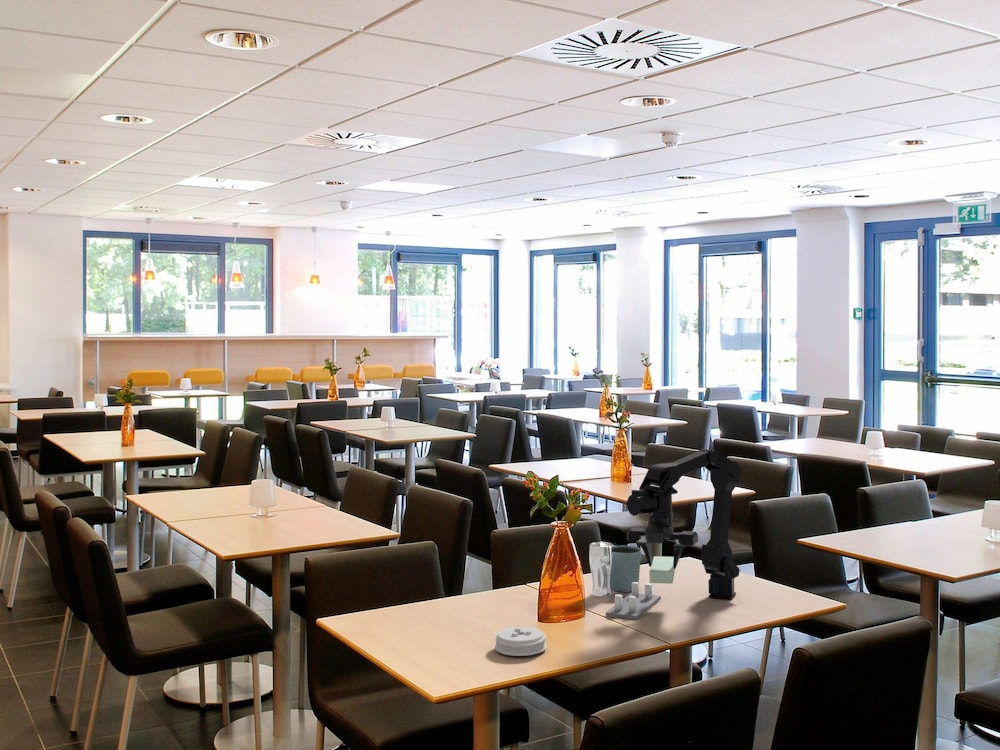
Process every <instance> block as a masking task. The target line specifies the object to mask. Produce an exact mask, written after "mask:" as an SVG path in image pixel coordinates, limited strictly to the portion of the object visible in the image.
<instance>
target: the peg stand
mask: <svg viewBox="0 0 1000 750" xmlns="http://www.w3.org/2000/svg"><path fill="white" fill-rule="evenodd" d="M639 586H640V582H639V583H638V582H632V592H629V594H627V595H626V596H625V597H624V598H623V595H622V594H615V595H614V605H613V606H612V607H610V608H609V609H608V610H607V611H606V612H605V617H608V618H609V617H610V618H611V617H613V618H620V619H626V620H627V619H628V620H637V621H638V620H639V619H641V617H642V616H643V615H645V614H646V613H647V612H649V611H650V609H652V608H653V607H654V606H655V605H656V604H658V603H659V602H660V601H661V600H660V599H662V596H661V595H655V594H653V583H650V582H649V583H648V582H647V583H644V593H639V591H640V589H639V588H640V587H639ZM659 600H660V601H659ZM653 605H654V606H653ZM652 606H653V607H652ZM644 613H645V614H644Z"/></svg>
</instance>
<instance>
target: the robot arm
mask: <svg viewBox="0 0 1000 750" xmlns="http://www.w3.org/2000/svg"><path fill="white" fill-rule="evenodd" d="M701 468H704V469H706V470H707V471H708V472H709V474H710V475H709V480H710V482H711V484H712V487H713V489H714V494H713V504H712V515H711V526H710V538H709V540H708V541H707V543H706V544H702V546H701V554H700V557H699V558H700V559H701V565H702V566H703V567H704V571H705V574H709V575H710V577H709V579H708V598H713V599H723V600H732V599H733V598H734V597H735V596H736V595H737V592H736V591H735V579H736V578H738V577H739V575H740V571H741V570H740V569H741V568H739V566H738V565H736V563H735V562H734V561H733V551H732V548H731V546H730V544H729V529H730V522H731V521H730V519H731V508H732V497H733V491H734V490H735V488H736V487H737V485H738V484H739V482H740V477H741V471H742V470H741V466H740V464H739V463H738V462H737V461H735V460H732V459H730V458H728V457H726V456H724V455H722V454H720V453H718V451H716V450H715V449H708V448H701V449H699V450H698V451H696V452H694V453H692V454H689V455H687V456H684V457H682V458H680V459H676V460H675V461H673V462H672V461H671V462H667V463H666V462H664V463H657V464H652V465H650V466H649V467H648V468H647V471H646V474H645V476H644V478H643V480H642V482H641V484H640V486H639V488H638V489H632V490H631V494H630V495H629V496H628V497H627V500H626V509H627V511H628V513H629V514H630V515H631V516H634V517H635V516H642V515H648V514H650V516H649V523H648V525H647V527H646V528H645V527H633V528H631V529H630V530H628V531H627V532H626V541H627V542H635V545H638V546H639V547H641V548H640V549H641V550H642V551H643V553H644V555H645V558H646V561H647V564H648V566H649V567H650V568H651V565H652V562H653V545H652V543H653V544H654V543H655V544H660V545H661V544H663V543H665V541H675V543H674V545H673V557H674V561H673V566H674V569H675V570H676V569H677V566H678V563H679V562H680V561H679V560H680V558H681V555H682V553H683V550H684V549H685V548H686V547H688V546H690V547H691V546H694V545H696V544H697V543H698V542H699V536H698V533H697V532H696V531H689V530H683V531H682V532H680V533H674V527H673V518H674V513H673V495H676V494H678V493H679V492H678V490H677V489H676V488H675V487H673V486H674V485H676V484H677V483H679V481H680V479H681V477H683V476H686V475H688V474H690V473H693V472H695V471H697V470H700V469H701Z"/></svg>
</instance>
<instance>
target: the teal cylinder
mask: <svg viewBox="0 0 1000 750" xmlns="http://www.w3.org/2000/svg"><path fill="white" fill-rule="evenodd" d="M612 551H613V568H612V575H611V589H612V591H613V590H614V592H617V591H621V592H620V593H628V592H627V591H632V582H638V583H639V584H640V572H641V571H640V569H641V558H642V548H640V547H637V546H633V545H632V546H631V545H615V546H613V545H612Z"/></svg>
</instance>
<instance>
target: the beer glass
mask: <svg viewBox="0 0 1000 750" xmlns="http://www.w3.org/2000/svg"><path fill="white" fill-rule="evenodd" d="M612 547H613V544H612V543H611V542H607V541H597V542H591V543H590V544H589V553H588V554H589V557H588V558H589V566H590V567H589V568H590V573H591V578H592V590H591V596H593V597H596V598H608V597H612V596H613V590H612V589H611V575H612V568H613V551H612Z"/></svg>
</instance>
